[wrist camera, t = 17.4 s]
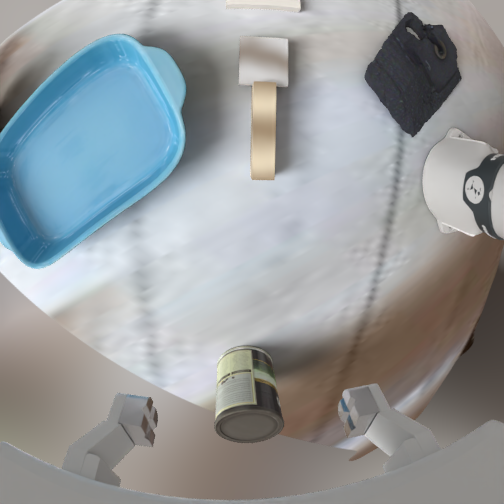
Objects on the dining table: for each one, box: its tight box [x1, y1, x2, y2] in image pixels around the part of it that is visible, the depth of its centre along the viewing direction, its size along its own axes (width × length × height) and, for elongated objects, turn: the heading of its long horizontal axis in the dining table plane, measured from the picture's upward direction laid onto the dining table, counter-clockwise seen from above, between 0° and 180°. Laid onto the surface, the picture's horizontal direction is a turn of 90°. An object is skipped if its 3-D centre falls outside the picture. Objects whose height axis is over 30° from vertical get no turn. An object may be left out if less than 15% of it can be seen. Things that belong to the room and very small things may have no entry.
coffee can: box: [214, 346, 284, 443], centre depth 40 cm, size 10×10×14 cm
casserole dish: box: [0, 34, 186, 269], centre depth 28 cm, size 37×22×7 cm, turn 118°
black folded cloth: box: [365, 12, 462, 137], centre depth 27 cm, size 15×22×5 cm
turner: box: [239, 36, 288, 180], centre depth 30 cm, size 19×6×4 cm, turn 179°
